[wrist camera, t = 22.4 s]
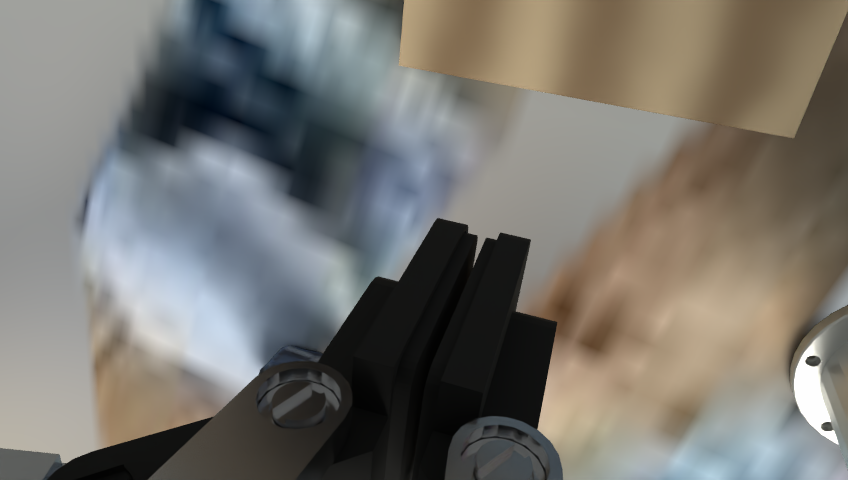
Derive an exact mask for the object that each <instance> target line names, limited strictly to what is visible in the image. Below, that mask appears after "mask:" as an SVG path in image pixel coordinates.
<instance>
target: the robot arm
mask: <svg viewBox="0 0 848 480" xmlns="http://www.w3.org/2000/svg"><path fill="white" fill-rule="evenodd" d="M477 238H478V237H477V235H473V234H469V233H468V225H466V224H461V223H456V222H453V221H448V220H444V219H440V218H437V219H436V221H435V222H434V224H433V226H432V227H431V229H430V231H429V232H428V234H427V236H426V237H425V239H424V240H423V242H422V244H421V245H420V247H419V249H418V250H417V252H416V254H415V255H414V257H413V259H412V260H411V262H410V264H409V265H408V267H407V269H406V270H405V272H404V273H403V275H402V277H401V278H400V280H399V282H398V281H394V280H390V279H386V278H382V277H376V278H374V280H373V281H372V282H371V283H370V285H369V286H368V288H367V289H366V291H365V292H364V294H363V295H362V297H361V298H360V300H359V301H358V303H357V304H356V306H355V307H354V309H353V310H352V311H351V313H350V314H349V316H348V317H347V319H346V320H345V322H344V323H343V325H342V326H341V328H340V329H339V331H338V332H337V334H336V335H335V337H334V338H333V340H332V341H331V343H330V344H329V346H328V347H327V349H326V350H325V352H324V353H323V355H322V356H321V357H320V359H319V360H318V362H312V361H293V362H287V363H281V364H279V365H276V366H274V367H271V368H268V369H267V370H265V371H264V372H262V373H261V374H260V375H258V376H257V377H255V378H254V379H253V380H252V381H251V382H250V383H249V384H248V385H247V386H246V387H245V388H244V389H243V390H242V391H241V392H240V393H238V394H237V395H236V396H235V397H234V398H233V399H232V400H231V401H230V402H229V403H228V404H227V405H226V406H225V407H224V408H223V409H222V410H221V411H219V412H218V413H217V414H216V415H215V416H214V417H211V418H207V419H204V420H200V421H197V422H194V423H190V424H187V425H183V426H180V427H176V428H173V429H169V430H166V431H162V432H159V433H155V434H152V435H148V436H145V437H141V438H138V439H134V440H131V441H127V442H124V443H120V444H117V445H114V446H110V447H107V448H103V449H100V450H96V451H93V452H90V453H88V454H85V455H82V456H80V457H77V458H75V459H73V460H71V461H70V462H68V463H62V462H61V458H60V455H59V454H51V453H41V452H32V451H22V450H13V449H3V448H0V480H563V473H562V466H561V462H560V458H559V454H558V453H557V451H556V450H555V448H554V447H553V445H552V443H551V442H550V441H549V440H548V439H547V438H546V437H545V436H544V435H543V434H542V433H541V432H539V431H538V430H537V428H538V423H539V418H540V412H541V407H542V402H543V396H544V391H545V386H546V380H547V375H548V370H549V364H550V359H551V354H552V348H553V343H554V337H555V332H556V326H557V322H555V321H551V320H547V319H543V318H539V317H535V316H531V315H527V314H523V313H520V312H516V307H517V302H518V298H519V293H520V288H521V284H522V279H523V274H524V270H525V265H526V261H527V256H528V252H529V247H530V242H531V240H530V239H526V238H521V237H517V236H513V235H508V234H504V233H500V234H499V236H498V239H497V240H494V239H490V238H486V239H485V242H484V244H483V246H482V249H481V251H480V253H479V255H478V258H477V260H476V263H475V265H474V267H473V264H474V258H475V252H476V246H477ZM790 384H791V388H792V392H793V396H794V399H795V401H796V404H797V406H798V409H799V411H800V412H801V414H802V415H803V416H804V418H805V419H806V421H807V422H808V423H809V424H810V425H811V426H812V427H813V428H814V429H815V430H816V431H817V432H818V433H820V434H821V435H823V436H824V437H826V438H828V439H829V440H831V441H832V442H834V443H836V444H838V445H839V447H840V450H841V453H842V456H843V459H844V461H845V464H846V467H847V470H848V305H847V306H845V307H843V308H841V309H839V310H837V311H835V312H833V313H831V314H830V315H829V316H827V317H826V318H825V319H823V320H822V321H821V322H819V323H818V324H817V325H815V326H814V327H813V328H812V330H811V331H810V332H809V333H808V334H807V335H806V336H805V337H804V338H803V340H802V341H801V343H800V345H799V346H798V348H797V350H796V351H795V354H794V357H793V360H792V363H791V367H790Z"/></svg>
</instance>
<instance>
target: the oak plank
mask: <svg viewBox="0 0 848 480" xmlns="http://www.w3.org/2000/svg"><path fill="white" fill-rule="evenodd" d="M847 12H848V0H404V9H403V22H402V34H401V46H400V59H399V66H405V67H410V68H415V69H421V70H426V71H432V72H437V73H442V74H448V75H453V76H459V77H464V78H470V79H475V80H480V81H486V82H491V83H497V84H502V85H507V86H513V87H518V88H524V89H529V90H535V91H540V92H545V93H551V94H557V95H562V96H567V97H572V98H579V99H584V100H589V101H594V102H600V103H605V104H611V105H616V106H621V107H627V108H632V109H638V110H643V111H648V112H654V113H659V114H665V115H670V116H675V117H681V118H686V119H692V120H697V121H702V122H708V123H713V124H719V125H724V126H729V127H735V128H740V129H746V130H751V131H757V132H762V133H767V134H773V135H778V136H784V137H789V138H794V137H795V135H796V132H797V130H798V128H799V125H800V123H801V121H802V118H803V116H804V113H805V111H806V109H807V106H808V104H809V102H810V99H811V97H812V94H813V92H814V90H815V87H816V85H817V83H818V80H819V78H820V76H821V73H822V71H823V68H824V66H825V64H826V61H827V59H828V57H829V54H830V52H831V49H832V47H833V45H834V42H835V40H836V38H837V35H838V33H839V31H840V28H841V26H842V23H843V21H844V19H845V16H846V14H847Z"/></svg>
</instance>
